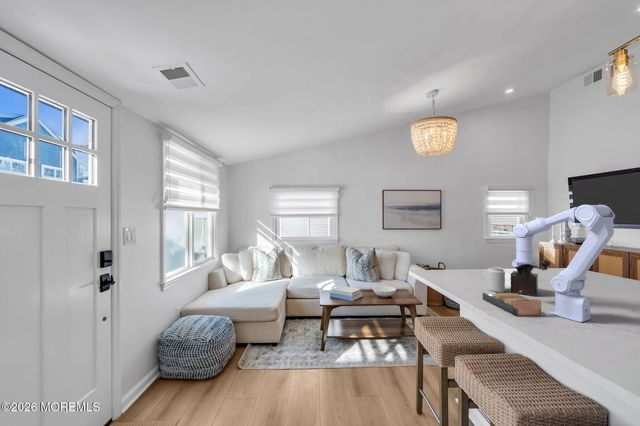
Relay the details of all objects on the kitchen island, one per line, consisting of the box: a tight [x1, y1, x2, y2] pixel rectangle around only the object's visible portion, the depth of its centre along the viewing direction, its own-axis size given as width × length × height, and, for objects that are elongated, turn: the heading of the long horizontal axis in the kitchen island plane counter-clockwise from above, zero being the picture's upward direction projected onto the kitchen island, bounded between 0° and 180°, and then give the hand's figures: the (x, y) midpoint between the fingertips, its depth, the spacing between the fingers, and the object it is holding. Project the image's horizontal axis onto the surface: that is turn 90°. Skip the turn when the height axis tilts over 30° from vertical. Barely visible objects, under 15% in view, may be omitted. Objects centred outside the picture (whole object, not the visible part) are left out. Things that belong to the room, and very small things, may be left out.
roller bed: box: [482, 292, 542, 317], centre depth 112 cm, size 20×10×6 cm, turn 2°
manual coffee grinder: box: [509, 259, 552, 297], centre depth 130 cm, size 16×11×18 cm
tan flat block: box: [495, 292, 529, 306], centre depth 110 cm, size 10×8×2 cm
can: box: [486, 266, 506, 293], centre depth 135 cm, size 8×8×12 cm
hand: (524, 281), depth 118 cm, fingers closed
